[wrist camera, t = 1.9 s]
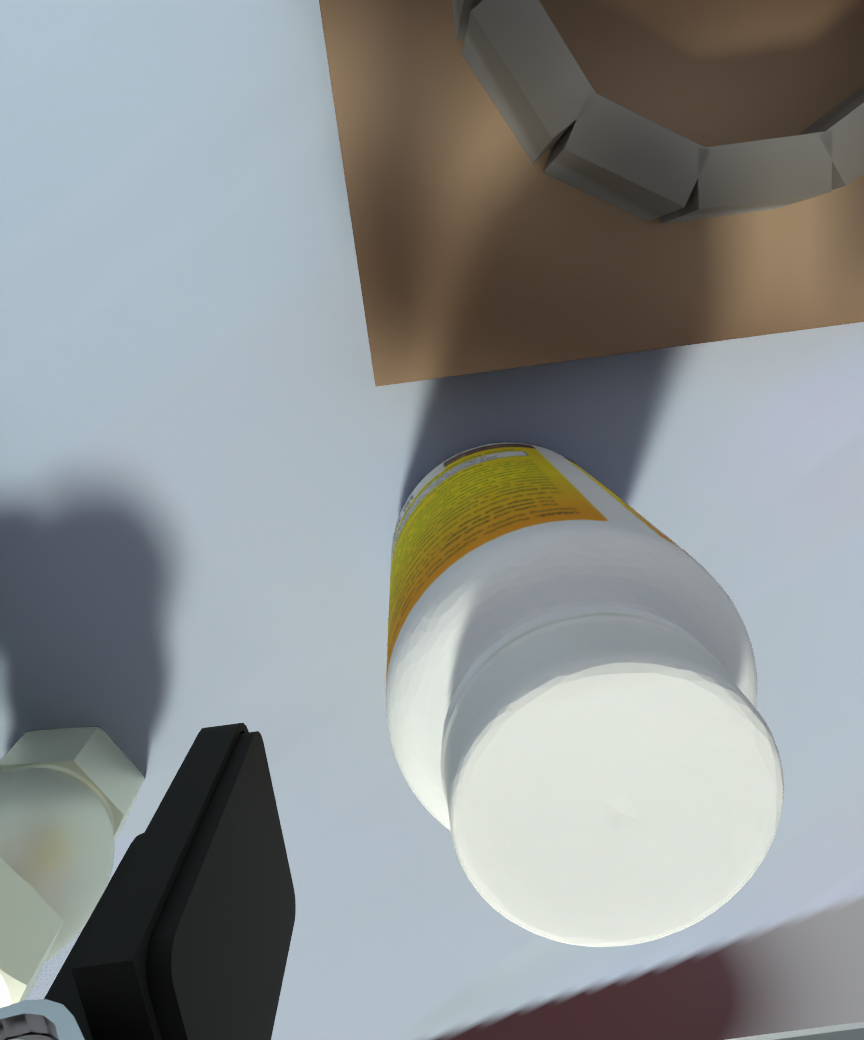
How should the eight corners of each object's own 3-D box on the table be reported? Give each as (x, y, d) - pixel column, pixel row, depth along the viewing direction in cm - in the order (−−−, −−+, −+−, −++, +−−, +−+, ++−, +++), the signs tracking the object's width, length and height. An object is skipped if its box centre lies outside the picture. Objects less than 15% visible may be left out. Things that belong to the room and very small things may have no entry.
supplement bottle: (356, 599, 18) (301, 919, 8) (449, 400, 17) (510, 503, 7) (549, 678, 19) (704, 1056, 9) (651, 493, 18) (953, 702, 8)
